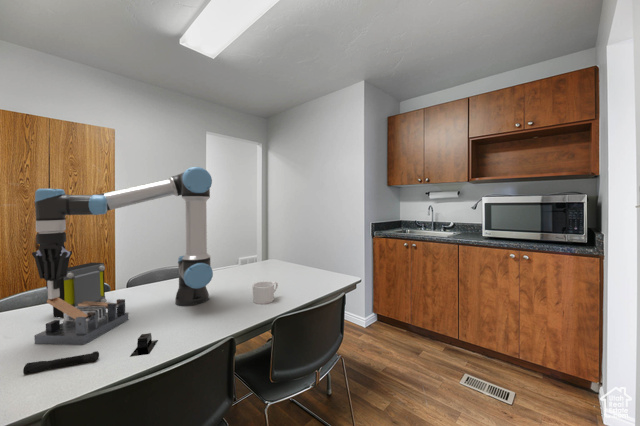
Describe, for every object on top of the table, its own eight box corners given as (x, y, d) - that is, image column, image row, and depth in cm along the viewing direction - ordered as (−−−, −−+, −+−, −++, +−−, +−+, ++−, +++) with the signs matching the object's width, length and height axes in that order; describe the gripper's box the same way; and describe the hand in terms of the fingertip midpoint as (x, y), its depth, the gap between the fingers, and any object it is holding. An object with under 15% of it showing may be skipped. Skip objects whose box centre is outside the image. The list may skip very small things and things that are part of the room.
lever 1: (87, 318, 97) (89, 315, 97) (79, 322, 94) (81, 319, 94) (55, 299, 98) (56, 296, 97) (46, 302, 95) (47, 299, 94)
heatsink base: (128, 319, 112) (127, 298, 112) (83, 344, 92) (82, 318, 92) (87, 319, 113) (86, 298, 113) (34, 343, 93) (33, 318, 93)
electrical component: (68, 318, 114) (66, 272, 114) (49, 316, 116) (48, 271, 116) (108, 303, 131) (107, 263, 131) (91, 302, 133) (90, 262, 133)
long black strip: (30, 370, 78) (29, 360, 78) (99, 358, 84) (99, 349, 84) (23, 377, 75) (22, 366, 75) (95, 363, 81) (95, 354, 81)
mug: (259, 306, 126) (259, 289, 125) (249, 300, 134) (248, 284, 133) (283, 299, 135) (283, 283, 134) (272, 294, 142) (272, 279, 142)
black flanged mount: (140, 341, 95) (139, 329, 95) (163, 339, 97) (162, 326, 97) (124, 361, 83) (124, 346, 83) (151, 357, 85) (150, 343, 85)
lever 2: (117, 306, 110) (117, 303, 110) (111, 309, 107) (111, 306, 107) (84, 303, 111) (84, 301, 111) (77, 306, 108) (78, 303, 108)
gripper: (78, 231, 99) (81, 294, 99) (45, 231, 99) (48, 294, 100) (57, 233, 91) (60, 301, 92) (22, 233, 92) (24, 301, 93)
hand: (53, 297), depth 96 cm, fingers closed
